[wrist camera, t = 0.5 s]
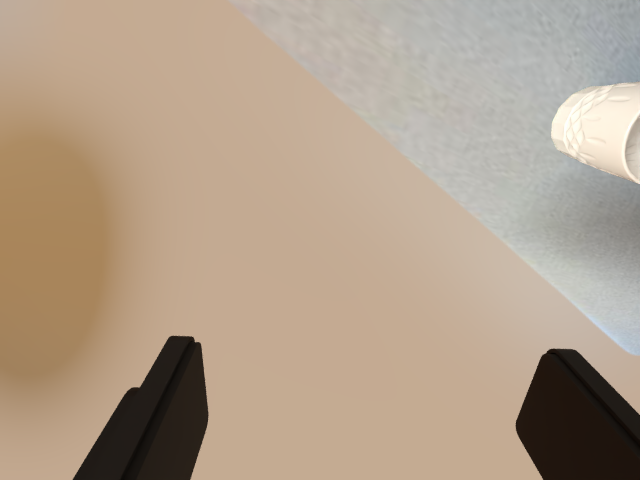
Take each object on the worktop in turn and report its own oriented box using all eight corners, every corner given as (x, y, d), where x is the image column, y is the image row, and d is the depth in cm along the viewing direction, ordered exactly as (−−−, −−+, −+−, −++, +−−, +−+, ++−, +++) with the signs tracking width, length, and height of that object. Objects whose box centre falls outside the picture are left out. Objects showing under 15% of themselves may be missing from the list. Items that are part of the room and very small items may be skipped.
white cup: (636, 130, 36) (746, 146, 27) (561, 177, 38) (641, 207, 28) (609, 61, 33) (722, 52, 24) (531, 115, 35) (607, 125, 26)
